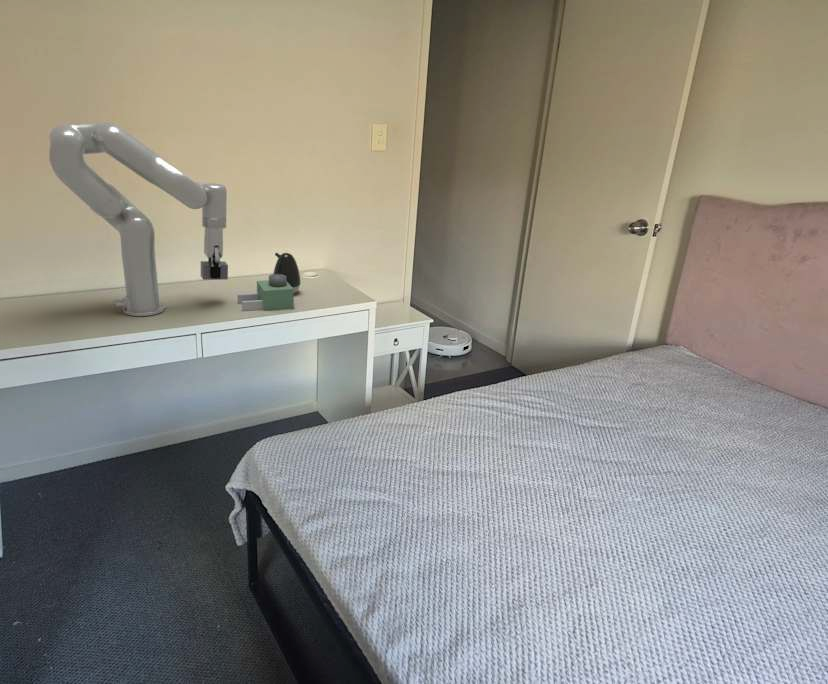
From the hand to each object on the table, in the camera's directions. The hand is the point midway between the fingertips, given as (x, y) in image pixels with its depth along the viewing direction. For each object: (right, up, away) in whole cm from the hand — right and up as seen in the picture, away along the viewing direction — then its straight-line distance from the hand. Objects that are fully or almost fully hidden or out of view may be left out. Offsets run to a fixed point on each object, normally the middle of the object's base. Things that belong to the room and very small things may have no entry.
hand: (214, 275), depth 202 cm
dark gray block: (0, -1, 0) cm, 1 cm away
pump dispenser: (+20, -4, +20) cm, 29 cm away
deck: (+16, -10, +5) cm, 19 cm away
